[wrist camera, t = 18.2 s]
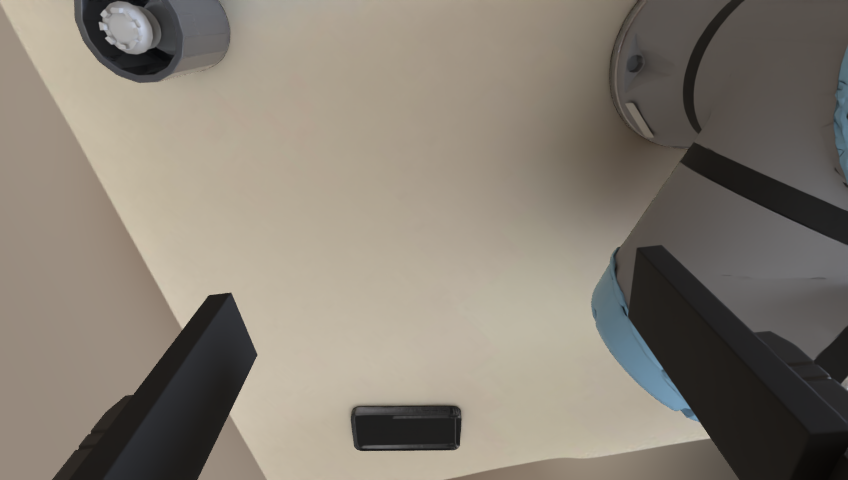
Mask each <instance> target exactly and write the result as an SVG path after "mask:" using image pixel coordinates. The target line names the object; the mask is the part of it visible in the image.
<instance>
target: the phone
mask: <svg viewBox="0 0 848 480" xmlns="http://www.w3.org/2000/svg"><path fill="white" fill-rule="evenodd" d="M351 424H352V433H353V441H354V447H355V448H356V449H357V450H360V451H415V450H455V449H457V448H458V447H459V446H460V433H461V411H460V409H459V408H457V407H453V406H444V407H357V408H355V409H353V411H352V416H351Z"/></svg>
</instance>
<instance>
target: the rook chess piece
mask: <svg viewBox="0 0 848 480" xmlns="http://www.w3.org/2000/svg"><path fill="white" fill-rule="evenodd" d="M100 15H101V16H102V17H103V18H102V21H103V22H99V27H100V30H105V32H106V34H107V37H106V38H105V39H106V40H107V41H108V42H109V43H110V44H111V45H112V44H114V45H115V46H116V47H117V48H119V49H121V50H122V51H124V52H126V53H129V54H140V53H144V52H146V51H147V49H151V48H155V47H157V48H158V49H160V50H162V51H164V52H166V53H168V54H171V55H175V53H176V41H177V34H176V31H175V27H174V24H173V20H172V17H171V15H170V13H169V12H168V10H167V9H166V7H165V6H164V4H163V3H162V1H161V0H150V1H149V2H148V3H147V4H146V5H145V6H144V8H143V7H141V6H134V5H132V4H130V3H128V2H122V1H116V2H113V3H110V4H109V5H108V6H107V7H106V9H104V10H103V12H102V13H101V14H100Z"/></svg>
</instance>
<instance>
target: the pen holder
mask: <svg viewBox="0 0 848 480" xmlns="http://www.w3.org/2000/svg"><path fill="white" fill-rule="evenodd" d="M116 1H122V2H128V3H130V4H132V5H134V6H141V7H143V8H144V6H145V5H146V4H147V3H148V2H149V1H150V0H74V7H75V21H76V23H77V26H78V28H79V31H80V34H81V36H82V39H83V41H84V43H85V44H86V45H87V47H88V48H89V49H90V51H91V52H92V53H93V54H94V56H95V57H96V58H97V60H98V61H99V62H100V63H102V64H103V65H104V66H106V67H107V68H108V69H110V70H111V71H112V72H114V73H115V74H117V75H118V76H121V77H123V78H126V79H129V80H132V81H135V82H139V83H146V82H159V81H163V80H167V79H171V78H175V77H179V76H183V75H187V74H191V73H195V72H199V71H203V70H206V69H208V68H210V67H213V66H214V65H216V64H217V63H219V62H220V61H221V60H222V58H223V57H224V56H225V54H226V52H227V49H228V46H229V42H230V29H229V23H228V20H227V17H226V14H225V12H224V10H223V8H222V6H221V5H220V3H219V2H218V0H161V1H162V3H163V4H164V6H165V7H166V9H167V10H168V12H169V13H170V15H171V17H172V20H173V24H174V27H175V31H176V34H177V41H176V53H175V55H171V54H168V53H166V52H164V51H162V50H160V49H158V48H157V47H155V48H151V49H147V51H146V52H144V53H140V54H129V53H126V52H124V51H122V50H121V49H119V48H117V47H116V46H115V45H114V44H112V45H111V44H110V43H109V42H108V41H107V40H106V39H105V38H106V37H107V34H106V32H105V30H100V27H99V22H103V21H102V18H103V17H102V16H101V15H100V14H101V13H102V12H103V10H104V9H106V7H107V6H108V5H109V4H110V3H113V2H116Z"/></svg>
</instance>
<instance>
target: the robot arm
mask: <svg viewBox="0 0 848 480" xmlns="http://www.w3.org/2000/svg"><path fill="white" fill-rule="evenodd" d="M610 90H611V95H612V99H613V102H614V105H615V107H616V110H617V112H618V113H619V115H620V117H621V118H622V119H623V121H624V122H625V123H626V124H627V125H628V126H629V128H631V129H632V130H633V131H634V132H636V133H637V134H639V135H640V136H642V137H644V138H646V139H648V140H650V141H652V142H654V143H656V144H659V145H663V146H667V147H673V148H682V149H688V151H687V152H686V154H685V155H684V157H683V158H682V160H681V161H680V162H679V164H678V165H677V166H676V168H675V169H674V171H673V172H672V174H671V175H670V177H669V178H668V179H667V181H666V182H665V184H664V185H663V187H662V188H661V190H660V191H659V192H658V194H657V195H656V197H655V198H654V200H653V201H652V203H651V204H650V205H649V207H648V208H647V210H646V211H645V213H644V214H643V216H642V217H641V218H640V220H639V221H638V223H637V224H636V226H635V227H634V229H633V230H632V231H631V233H630V234H629V236H628V237H627V239H626V240H625V242H624V243H623V244H622V246H621V247H618V248H617V249H616V250H615V251H614V252H613V254H612V256H611V260H610V264H609V266H608V267H607V269H606V271H605V272H604V274H603V276H602V277H601V279H600V280H599V282H598V284H597V285H596V287H595V289H594V292H593V295H592V301H591V307H592V312H593V317H594V319H595V321H596V327H597V329H598V332H599V334H600V336H601V338H602V340H603V341H604V343H605V345H606V346H607V348H608V349H609V351H610V352H611V353H612V355H613V356H614V357H615V359H616V360H617V361H618V363H619V364H620V365H621V366H622V367H623V368H624V369H625V371H626V372H627V373H628V374H629V375H630V376H631V377H632V378H633V379H634V380H635V381H636V382H637V383H638V384H639V385H640V386H641V387H642V388H644V389H645V390H646V391H647V392H648V393H649V394H651V395H652V396H653V397H654V398H656V399H657V400H658V401H660V402H661V403H663V404H664V405H666V406H667V407H669V408H670V409H672V410H674V411H678V410H681V411H682V412H683V414H684V415H685V416H686V417H687V418H690V419H692V420H695V421H698V422H700V423H701V424H702V426H703V427H704V429H705V430H706V432H707V433H708V435H709V436H710V438H711V439H712V441H713V442H714V443H715V445H716V446H717V448H718V449H719V451H720V452H721V454H722V455H723V457H724V458H725V459H726V461H727V462H728V464H729V465H730V467H731V468H732V470H733V471H734V473H735V474H736V475H737V477H738V478H739V480H848V0H639V1H638V2H637V4H636V5H635V6H634V8H633V9H632V11H631V12H630V14H629V15H628V17H627V19H626V20H625V22H624V24H623V26H622V28H621V30H620V32H619V35H618V37H617V40H616V42H615V46H614V49H613V53H612V58H611V63H610ZM256 357H257V353H256V350H255V348H254V346H253V343H252V341H251V339H250V336H249V334H248V331H247V329H246V327H245V324H244V322H243V319H242V317H241V315H240V312H239V310H238V308H237V305H236V303H235V300H234V298H233V296H232V293H224V294H216V295H209V296H208V297H207V298H206V300H205V301H204V302H203V304H202V305H201V306H200V308H199V309H198V310H197V312H196V313H195V314H194V316H193V317H192V318H191V319H190V321H189V322H188V323H187V325H186V326H185V327H184V329H183V330H182V331H181V333H180V334H179V335H178V337H177V338H176V339H175V341H174V342H173V343H172V345H171V346H170V347H169V348H168V350H167V351H166V352H165V354H164V355H163V357H162V358H161V359H160V360H159V362H158V363H157V364H156V366H155V367H154V368H153V370H152V371H151V372H150V374H149V375H148V376H147V378H146V379H145V380H144V381H143V383H142V384H141V385H140V387H139V388H138V389H137V391H136V392H135V393H134V395H128V396H125V397H123V398H122V399H121V400H120V401H119V402H117V403H116V404H115V405H114V406H113V407H112V408H110V409H109V410H108V411H107V412H106V413H105V414H104V415H103V416H102V418H101V419H100V420H99V422H98V423H97V424H96V425H95V426H94V428H93V429H92V430H91V434H89V435H87V436H86V438H85V439H84V440H83V441H82V443H81V444H80V445H79V449H78V450H75V451H74V453H73V454H72V455H71V457H70V458H69V459H68V460H67V462H66V463H65V464H64V465H63V467H62V468H61V469H60V471H59V472H58V473H57V474H56V475H55V477H54V478H53V479H52V480H197V479H198V477H199V475H200V473H201V471H202V469H203V466H204V465H205V463H206V461H207V459H208V456H209V454H210V452H211V450H212V448H213V446H214V444H215V442H216V440H217V438H218V436H219V433H220V432H221V430H222V427H223V425H224V423H225V421H226V419H227V417H228V415H229V413H230V411H231V409H232V407H233V405H234V403H235V400H236V398H237V396H238V394H239V392H240V390H241V388H242V386H243V384H244V382H245V380H246V378H247V376H248V374H249V371H250V369H251V367H252V365H253V363H254V361H255V359H256Z"/></svg>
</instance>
